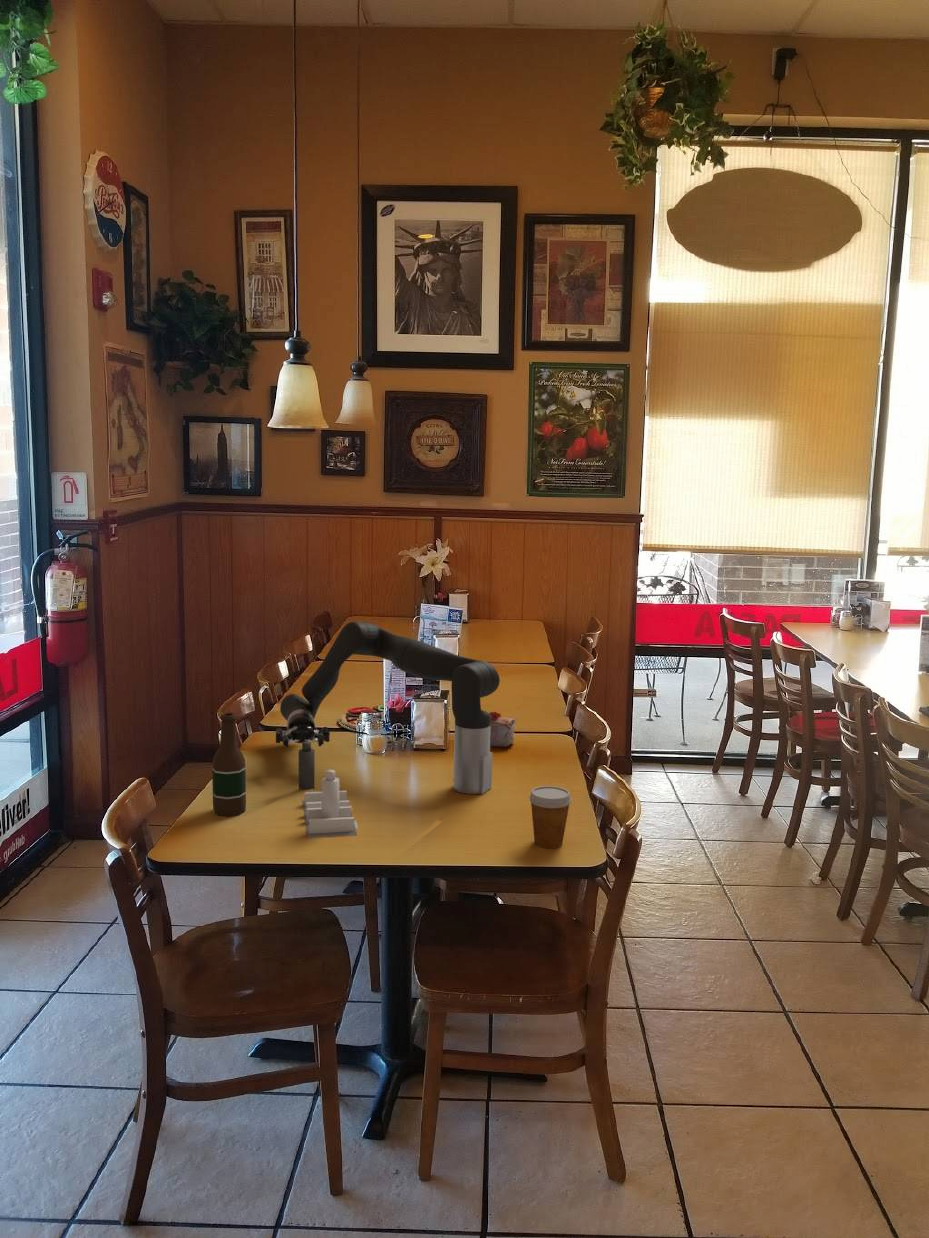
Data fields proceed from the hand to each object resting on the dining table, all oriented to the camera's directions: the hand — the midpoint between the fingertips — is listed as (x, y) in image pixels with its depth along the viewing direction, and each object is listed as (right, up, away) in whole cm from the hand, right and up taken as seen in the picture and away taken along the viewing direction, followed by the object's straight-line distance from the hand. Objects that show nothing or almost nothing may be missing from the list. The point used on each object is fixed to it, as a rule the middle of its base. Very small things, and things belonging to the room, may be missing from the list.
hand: (303, 743), depth 267 cm
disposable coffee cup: (+61, -18, -37) cm, 74 cm away
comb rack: (+10, -15, -29) cm, 34 cm away
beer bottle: (-14, -14, -23) cm, 30 cm away
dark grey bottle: (+2, -11, -8) cm, 14 cm away
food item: (+50, -5, +38) cm, 63 cm away
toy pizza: (+16, -1, +58) cm, 60 cm away
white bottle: (+12, -15, -35) cm, 39 cm away
